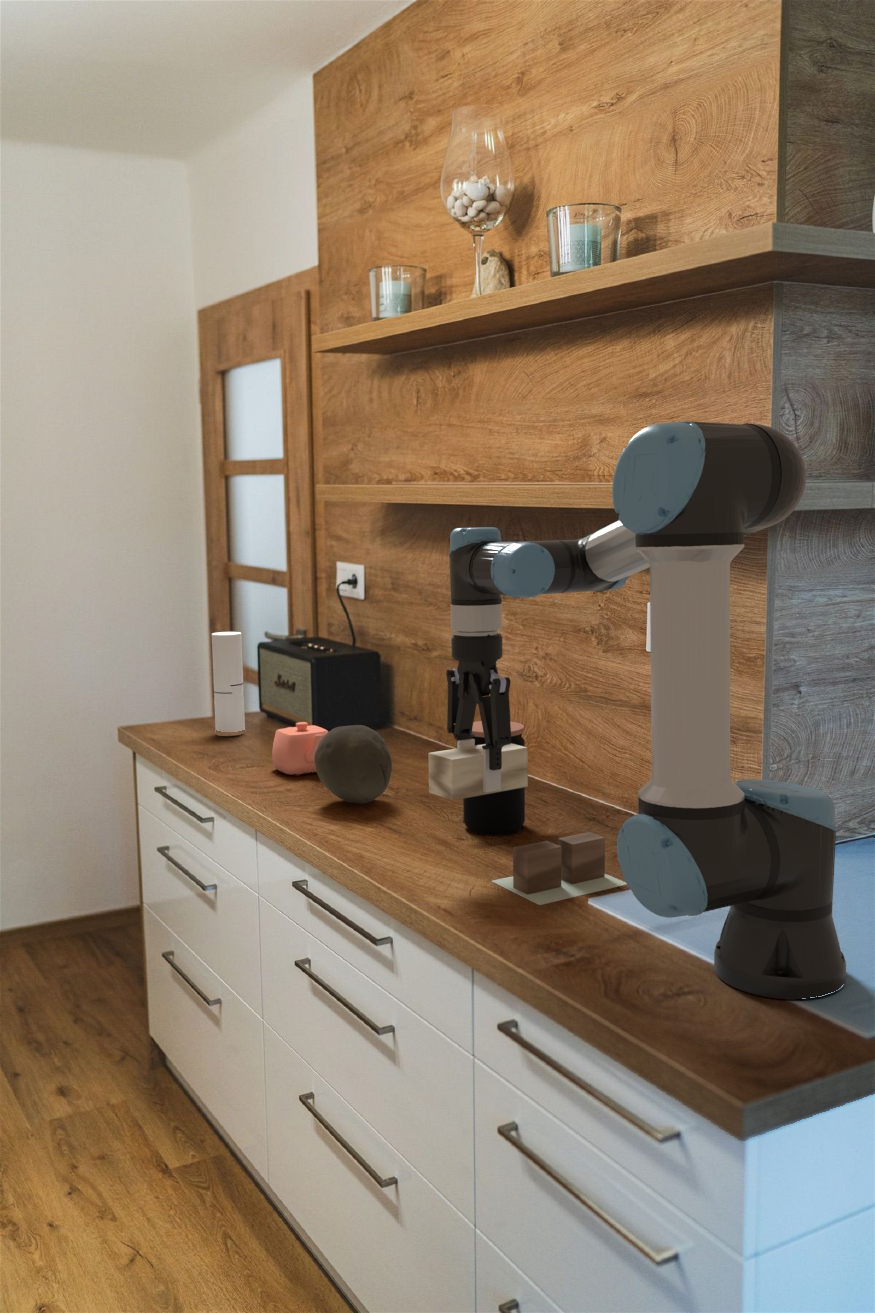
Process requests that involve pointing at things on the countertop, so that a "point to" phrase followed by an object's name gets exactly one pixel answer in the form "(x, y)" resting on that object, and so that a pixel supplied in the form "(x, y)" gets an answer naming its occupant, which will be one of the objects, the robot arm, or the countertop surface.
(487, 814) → the coffee jar
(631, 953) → the countertop surface
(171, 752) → the countertop surface
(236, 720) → the cylindrical container
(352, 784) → the dark grey ball
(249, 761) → the countertop surface
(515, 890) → the board
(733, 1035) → the countertop surface
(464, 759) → the lintel
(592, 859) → the post
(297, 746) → the teapot
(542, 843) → the post
